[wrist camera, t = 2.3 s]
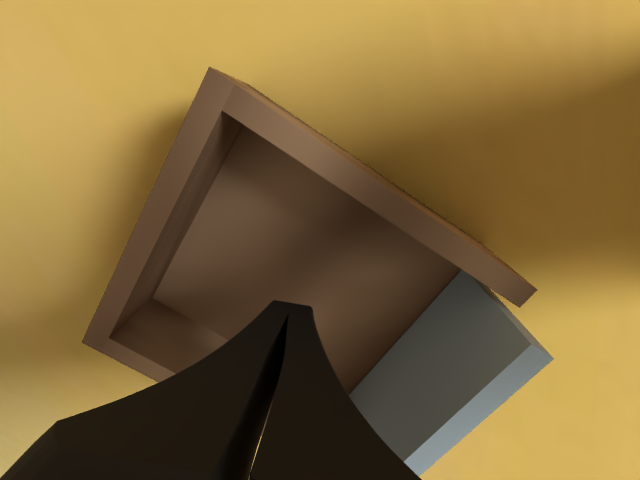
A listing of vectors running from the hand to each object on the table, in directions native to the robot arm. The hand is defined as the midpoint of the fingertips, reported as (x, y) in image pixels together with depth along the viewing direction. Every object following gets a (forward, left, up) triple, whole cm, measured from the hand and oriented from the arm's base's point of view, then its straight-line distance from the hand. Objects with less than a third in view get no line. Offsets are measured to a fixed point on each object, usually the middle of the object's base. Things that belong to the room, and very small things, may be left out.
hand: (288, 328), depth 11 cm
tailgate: (-6, 0, -3) cm, 7 cm away
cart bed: (0, 0, -5) cm, 5 cm away
